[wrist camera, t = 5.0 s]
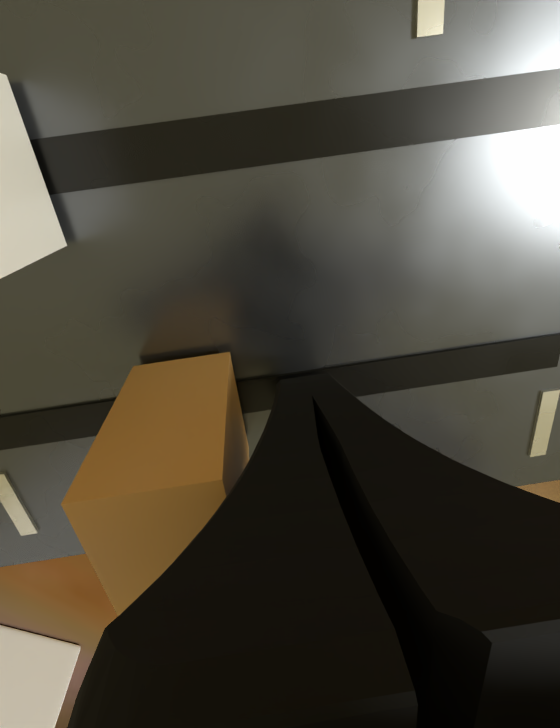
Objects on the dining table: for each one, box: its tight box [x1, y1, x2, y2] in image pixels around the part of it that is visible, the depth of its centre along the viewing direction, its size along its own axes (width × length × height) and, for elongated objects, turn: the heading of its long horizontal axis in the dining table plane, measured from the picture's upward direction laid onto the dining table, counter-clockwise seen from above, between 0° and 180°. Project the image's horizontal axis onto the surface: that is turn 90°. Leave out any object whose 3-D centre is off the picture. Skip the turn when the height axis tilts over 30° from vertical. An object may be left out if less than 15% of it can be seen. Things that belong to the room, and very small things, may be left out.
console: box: [0, 0, 560, 567], centre depth 10 cm, size 15×22×1 cm
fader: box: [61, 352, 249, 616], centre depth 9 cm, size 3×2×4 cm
